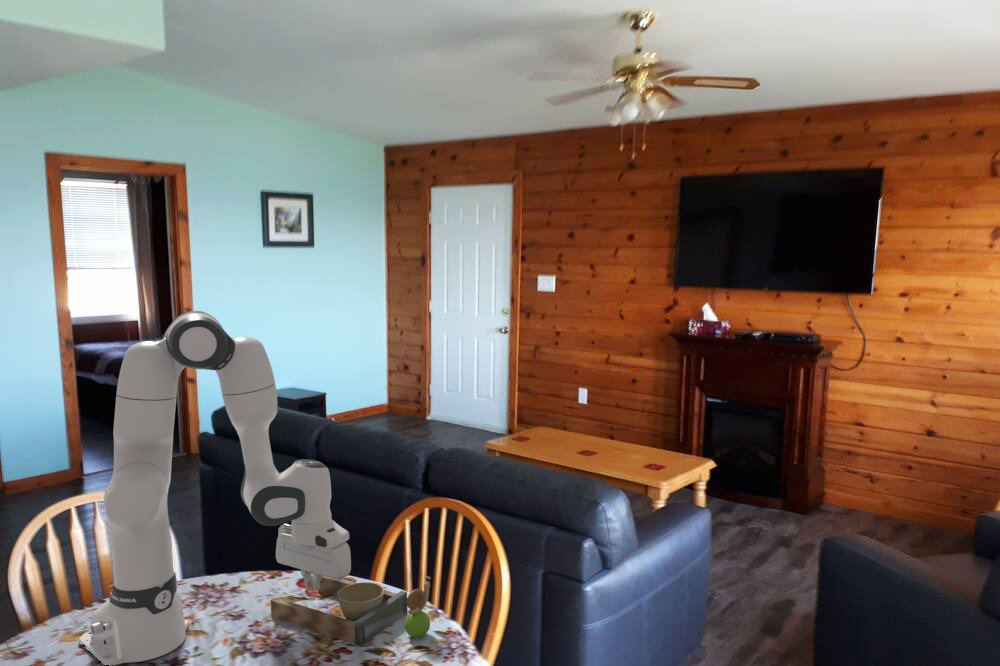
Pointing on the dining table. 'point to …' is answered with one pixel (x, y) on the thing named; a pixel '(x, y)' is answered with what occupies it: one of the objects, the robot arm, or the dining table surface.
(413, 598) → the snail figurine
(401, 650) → the dining table surface
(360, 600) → the flower pot
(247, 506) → the robot arm
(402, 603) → the walled lane
